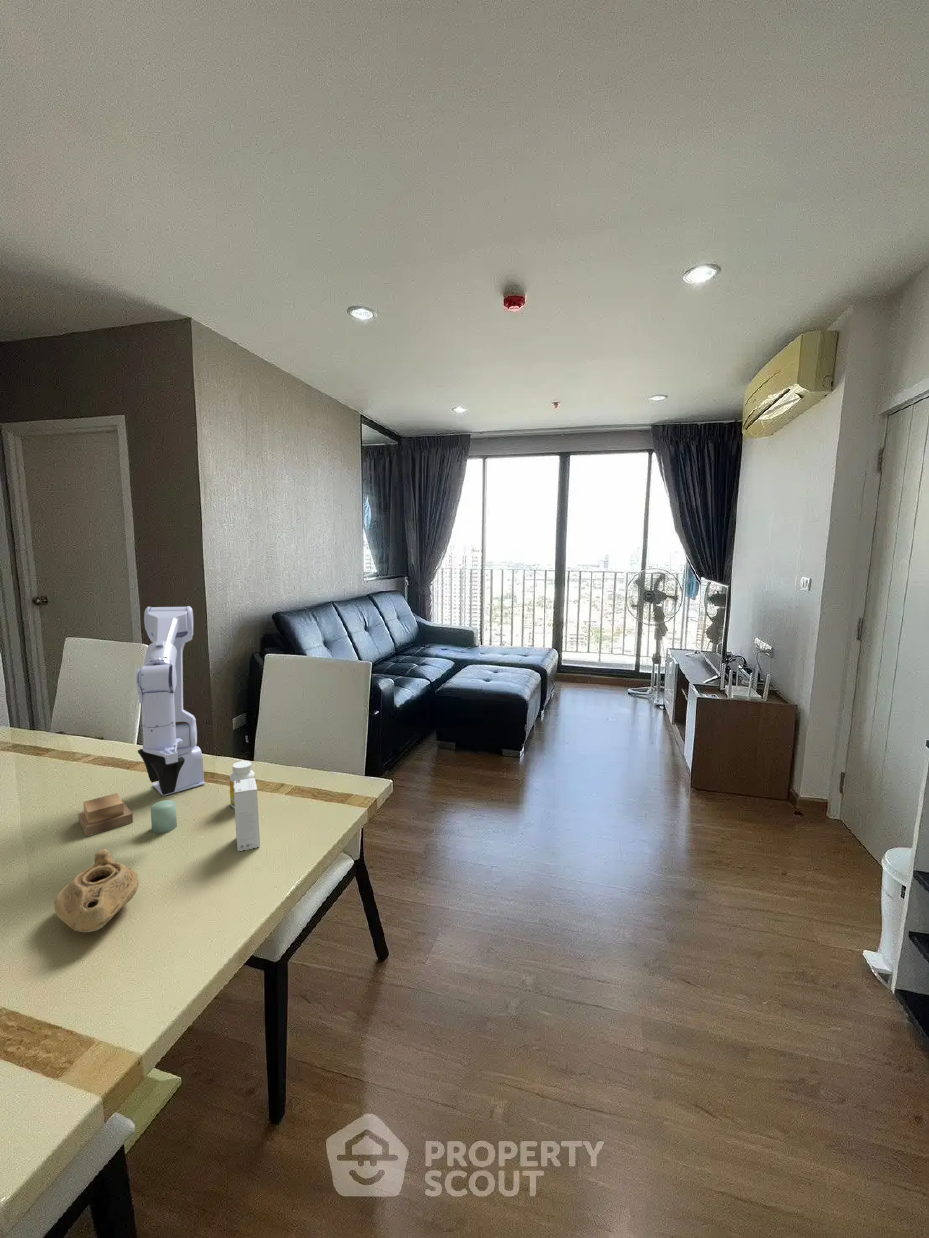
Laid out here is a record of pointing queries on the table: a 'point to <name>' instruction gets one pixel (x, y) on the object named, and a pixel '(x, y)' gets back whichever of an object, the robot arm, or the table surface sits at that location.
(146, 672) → the robot arm
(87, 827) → the base block
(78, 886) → the oil lamp
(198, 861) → the table surface
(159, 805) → the green cylinder
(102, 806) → the top block
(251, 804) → the skincare box
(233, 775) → the supplement bottle
